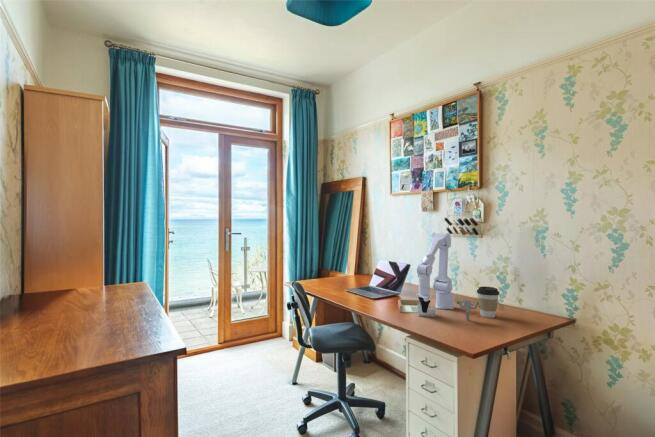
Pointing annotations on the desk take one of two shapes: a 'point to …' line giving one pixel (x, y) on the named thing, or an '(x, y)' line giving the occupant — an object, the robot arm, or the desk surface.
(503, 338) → the desk surface
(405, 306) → the corner arena
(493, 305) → the coffee cup
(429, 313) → the bracket
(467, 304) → the mechanical component
